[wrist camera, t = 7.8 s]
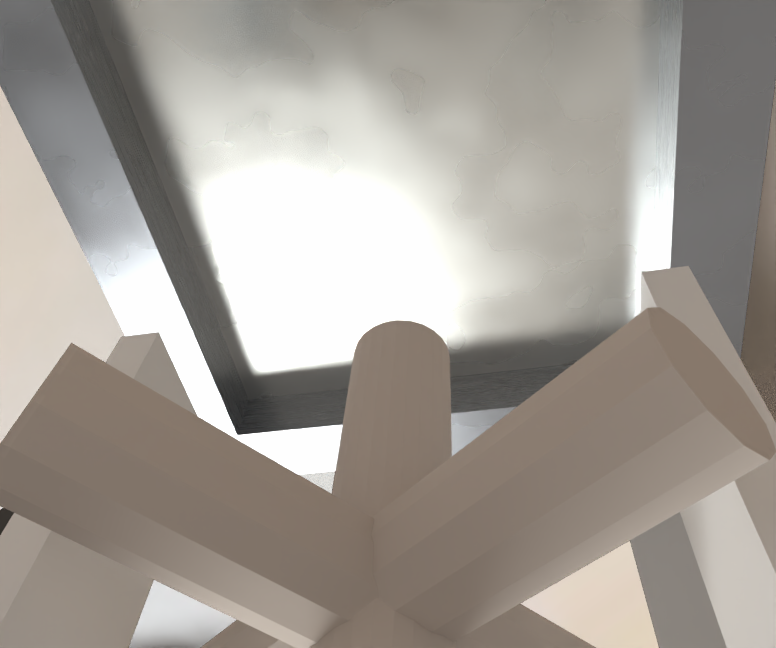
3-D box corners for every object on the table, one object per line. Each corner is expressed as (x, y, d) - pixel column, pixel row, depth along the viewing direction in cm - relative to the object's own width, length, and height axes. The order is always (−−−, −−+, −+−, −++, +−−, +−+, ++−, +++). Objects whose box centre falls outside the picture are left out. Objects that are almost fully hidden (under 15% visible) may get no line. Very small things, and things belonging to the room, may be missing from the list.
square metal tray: (214, 441, 25) (198, 483, 24) (-34, -100, 16) (-87, -90, 14) (709, 390, 23) (730, 434, 21) (776, -292, 13) (824, -307, 12)
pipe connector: (425, 583, 17) (414, 1255, 9) (48, 373, 14) (-487, 1132, 6) (795, 343, 13) (1446, 1295, 4) (357, -62, 9) (-222, 782, 1)
